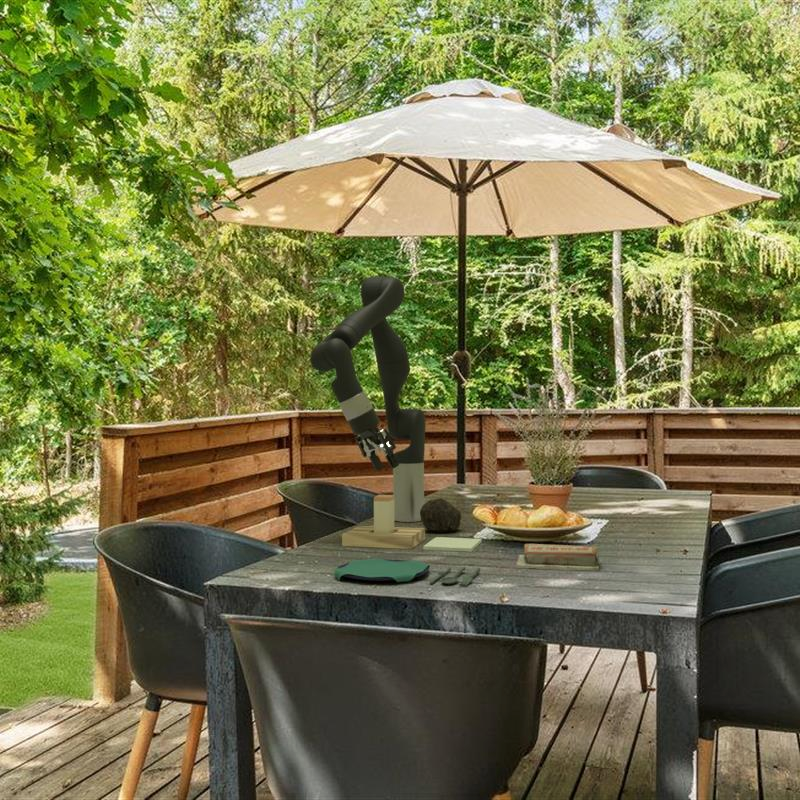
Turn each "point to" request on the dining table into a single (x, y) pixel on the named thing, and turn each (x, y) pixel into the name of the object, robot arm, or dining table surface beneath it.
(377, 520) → the plug
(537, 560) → the packaged product
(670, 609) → the dining table surface
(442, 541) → the mat
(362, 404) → the robot arm
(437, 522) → the rock
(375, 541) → the wooden peg board
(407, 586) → the dining table surface
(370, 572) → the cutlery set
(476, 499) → the dining table surface
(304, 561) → the dining table surface
